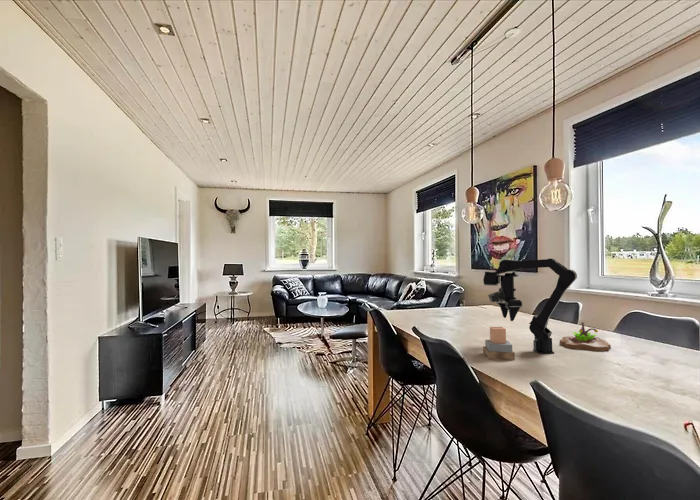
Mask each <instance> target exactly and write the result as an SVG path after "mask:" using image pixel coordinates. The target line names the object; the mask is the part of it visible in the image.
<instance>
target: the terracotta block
mask: <svg viewBox="0 0 700 500" xmlns="http://www.w3.org/2000/svg"><path fill="white" fill-rule="evenodd" d="M506 330H507V329H506V328H504V327H503V326H489V340H490V341H491V342H493V343H506V340H507V331H506Z"/></svg>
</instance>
